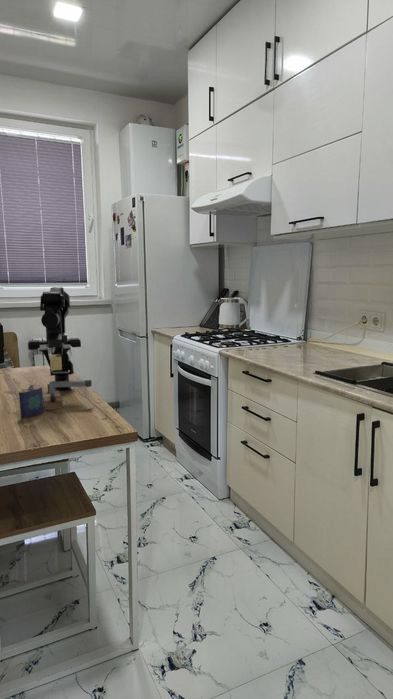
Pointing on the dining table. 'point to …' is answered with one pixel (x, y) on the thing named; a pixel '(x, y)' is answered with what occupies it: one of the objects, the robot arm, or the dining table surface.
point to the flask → (31, 402)
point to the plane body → (48, 403)
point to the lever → (66, 384)
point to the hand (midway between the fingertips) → (56, 366)
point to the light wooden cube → (55, 362)
